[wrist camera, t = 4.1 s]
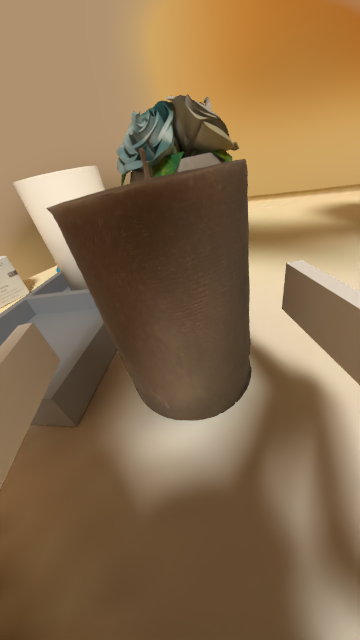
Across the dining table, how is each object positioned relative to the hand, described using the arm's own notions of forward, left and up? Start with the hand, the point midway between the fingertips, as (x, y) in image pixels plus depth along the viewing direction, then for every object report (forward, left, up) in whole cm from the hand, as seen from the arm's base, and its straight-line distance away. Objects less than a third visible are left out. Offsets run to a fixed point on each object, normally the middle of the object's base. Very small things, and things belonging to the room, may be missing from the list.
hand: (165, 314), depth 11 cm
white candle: (+16, -21, -7) cm, 27 cm away
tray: (+16, -13, -8) cm, 22 cm away
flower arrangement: (+5, -46, -8) cm, 47 cm away
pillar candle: (0, -3, -8) cm, 9 cm away
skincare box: (+37, -21, -8) cm, 44 cm away
